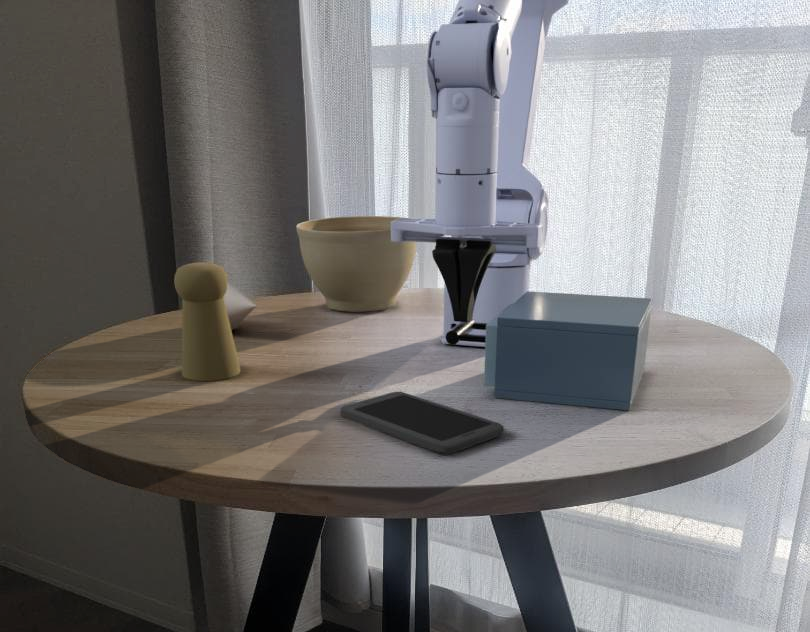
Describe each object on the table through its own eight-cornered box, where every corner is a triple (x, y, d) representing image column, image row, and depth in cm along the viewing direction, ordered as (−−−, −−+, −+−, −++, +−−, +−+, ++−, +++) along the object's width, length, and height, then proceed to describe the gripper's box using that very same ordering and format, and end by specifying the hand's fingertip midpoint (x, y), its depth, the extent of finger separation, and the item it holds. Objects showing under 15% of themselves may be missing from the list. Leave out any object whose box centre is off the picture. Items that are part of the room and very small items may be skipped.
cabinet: (494, 397, 82) (497, 317, 79) (522, 363, 93) (526, 291, 90) (629, 411, 79) (639, 326, 75) (643, 373, 89) (652, 298, 86)
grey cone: (259, 344, 100) (201, 341, 112) (289, 304, 102) (228, 305, 113) (222, 307, 97) (165, 308, 108) (253, 266, 98) (194, 271, 109)
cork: (250, 367, 92) (241, 260, 87) (222, 383, 87) (210, 270, 82) (201, 362, 94) (188, 257, 89) (170, 378, 89) (155, 267, 84)
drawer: (436, 381, 84) (437, 321, 82) (468, 352, 94) (469, 297, 91) (605, 397, 79) (612, 333, 77) (620, 364, 89) (627, 307, 86)
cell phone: (397, 397, 82) (397, 389, 82) (508, 434, 73) (508, 425, 73) (336, 415, 78) (336, 407, 78) (446, 456, 69) (446, 447, 68)
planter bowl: (363, 289, 130) (361, 212, 125) (443, 305, 119) (443, 221, 114) (277, 306, 119) (271, 223, 115) (356, 325, 109) (353, 234, 104)
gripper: (377, 174, 80) (381, 323, 86) (533, 177, 75) (525, 334, 81) (404, 168, 85) (405, 308, 92) (550, 171, 81) (541, 317, 87)
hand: (463, 319), depth 87 cm, fingers closed
